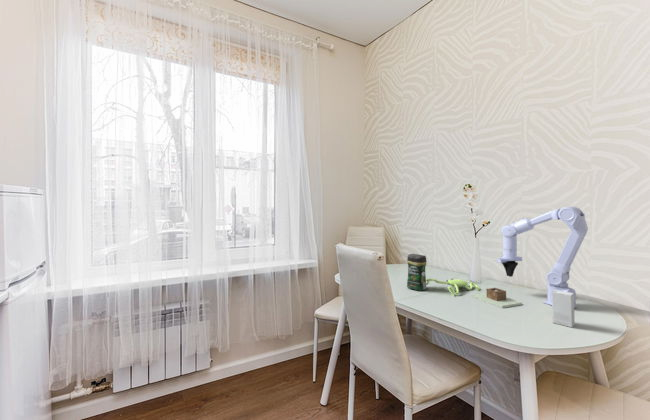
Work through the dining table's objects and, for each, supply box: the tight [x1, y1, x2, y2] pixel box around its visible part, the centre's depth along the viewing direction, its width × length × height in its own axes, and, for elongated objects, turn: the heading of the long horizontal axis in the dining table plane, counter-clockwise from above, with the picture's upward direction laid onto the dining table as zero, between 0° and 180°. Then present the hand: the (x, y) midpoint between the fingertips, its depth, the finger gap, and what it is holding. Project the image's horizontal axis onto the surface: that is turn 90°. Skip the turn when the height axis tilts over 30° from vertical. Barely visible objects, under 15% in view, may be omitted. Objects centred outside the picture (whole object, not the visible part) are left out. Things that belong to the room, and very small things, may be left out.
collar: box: [486, 287, 507, 301], centre depth 137 cm, size 6×6×4 cm
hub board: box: [472, 290, 523, 309], centre depth 136 cm, size 16×12×5 cm
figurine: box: [426, 278, 481, 297], centre depth 156 cm, size 18×27×6 cm
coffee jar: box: [406, 253, 427, 292], centre depth 156 cm, size 10×8×19 cm
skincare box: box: [551, 290, 576, 328], centre depth 110 cm, size 6×4×12 cm
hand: (509, 276), depth 146 cm, fingers closed
